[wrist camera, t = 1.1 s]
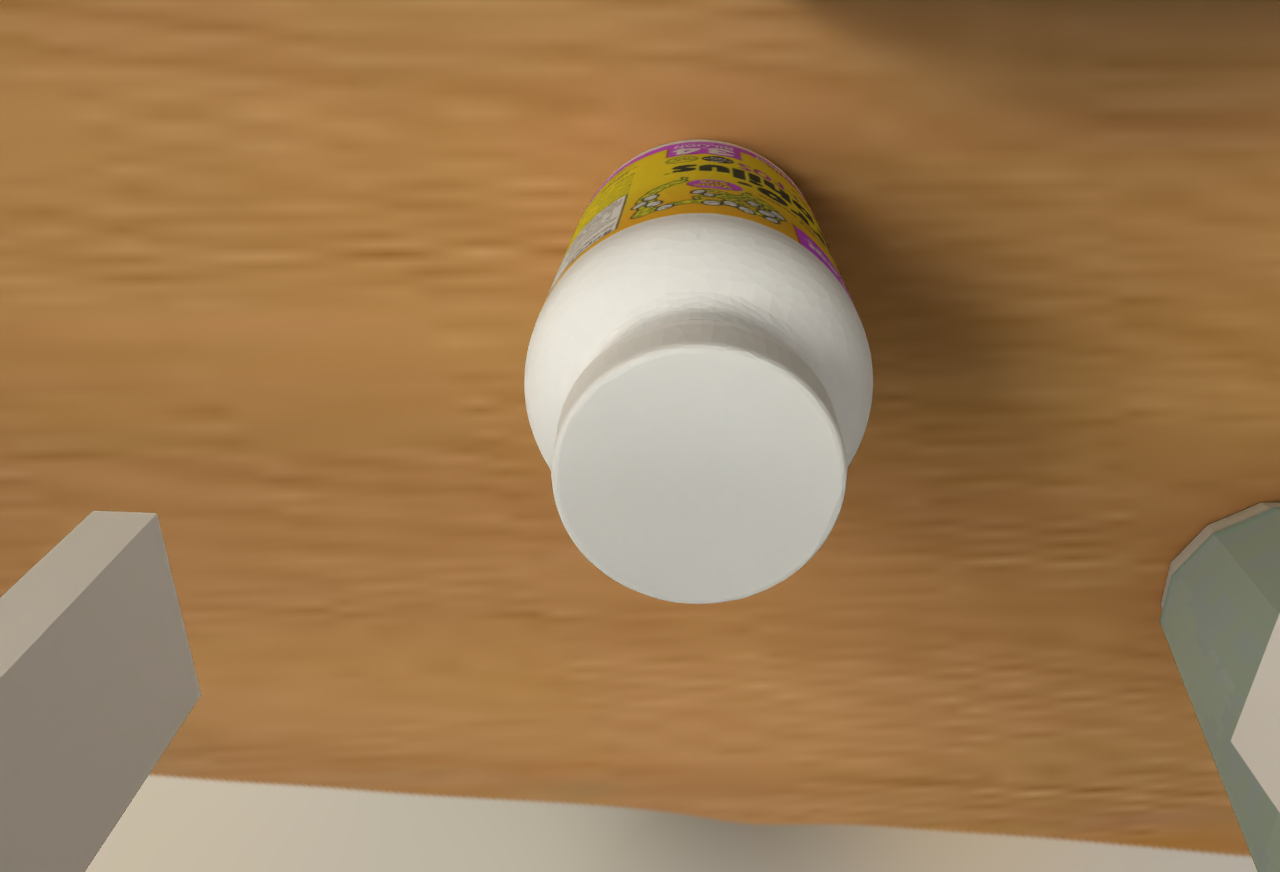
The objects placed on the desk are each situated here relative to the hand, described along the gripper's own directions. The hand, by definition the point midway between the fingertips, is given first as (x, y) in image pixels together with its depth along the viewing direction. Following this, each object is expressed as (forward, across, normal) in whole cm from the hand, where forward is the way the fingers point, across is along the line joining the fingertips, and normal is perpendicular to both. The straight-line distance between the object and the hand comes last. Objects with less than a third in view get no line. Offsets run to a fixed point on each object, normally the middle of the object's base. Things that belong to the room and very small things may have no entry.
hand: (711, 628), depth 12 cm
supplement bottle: (+17, 0, 0) cm, 17 cm away
